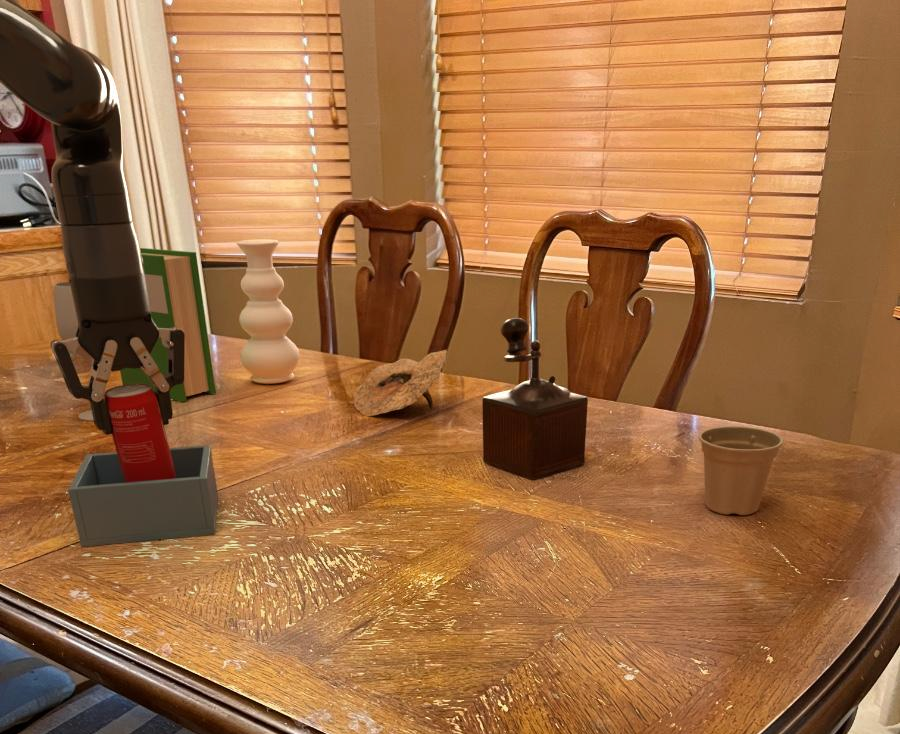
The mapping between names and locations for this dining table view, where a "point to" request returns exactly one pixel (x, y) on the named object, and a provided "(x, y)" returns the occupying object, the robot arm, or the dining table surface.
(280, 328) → the vase
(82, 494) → the open box
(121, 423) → the beverage can
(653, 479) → the dining table surface
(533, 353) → the manual coffee grinder
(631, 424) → the dining table surface
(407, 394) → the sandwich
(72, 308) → the wineglass
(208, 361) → the hardback book
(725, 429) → the flower pot
